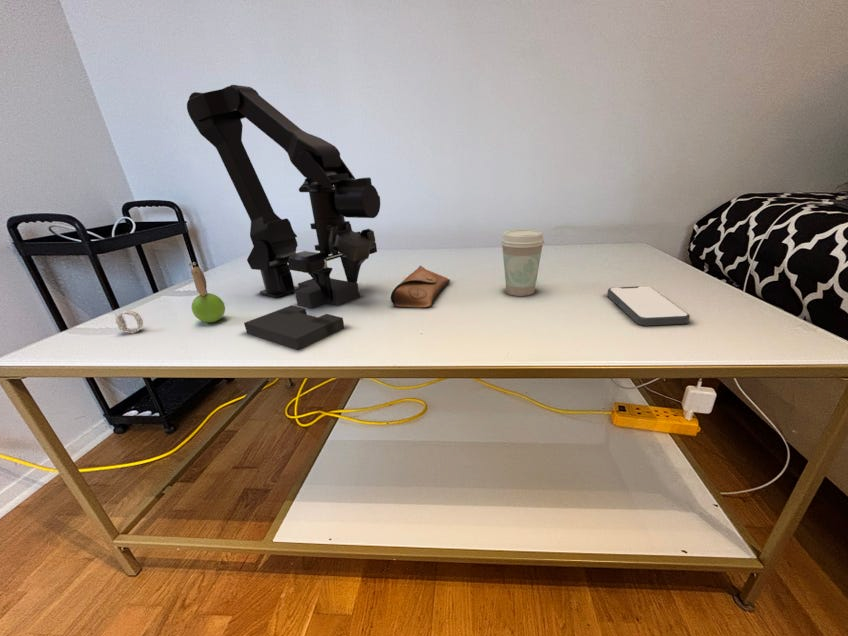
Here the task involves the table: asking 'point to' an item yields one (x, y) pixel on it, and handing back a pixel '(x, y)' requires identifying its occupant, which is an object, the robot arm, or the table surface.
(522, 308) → the table surface
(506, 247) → the coffee cup
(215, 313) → the green ball with stick
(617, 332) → the table surface
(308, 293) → the pad
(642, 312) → the phone case
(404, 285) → the sunglasses case
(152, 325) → the table surface
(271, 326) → the notched pad
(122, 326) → the beige textured ring
